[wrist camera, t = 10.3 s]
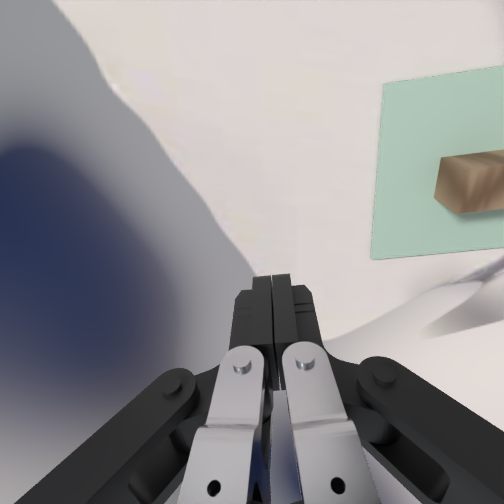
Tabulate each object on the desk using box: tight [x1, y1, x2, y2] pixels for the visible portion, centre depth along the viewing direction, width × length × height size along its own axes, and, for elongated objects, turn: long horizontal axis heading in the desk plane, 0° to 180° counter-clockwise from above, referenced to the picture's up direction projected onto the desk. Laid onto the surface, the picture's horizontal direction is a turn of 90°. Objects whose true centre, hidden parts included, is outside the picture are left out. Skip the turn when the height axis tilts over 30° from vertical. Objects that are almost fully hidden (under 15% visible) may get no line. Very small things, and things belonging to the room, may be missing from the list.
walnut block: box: [434, 149, 504, 214], centre depth 33 cm, size 5×5×11 cm
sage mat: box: [370, 66, 504, 260], centre depth 36 cm, size 22×19×1 cm
